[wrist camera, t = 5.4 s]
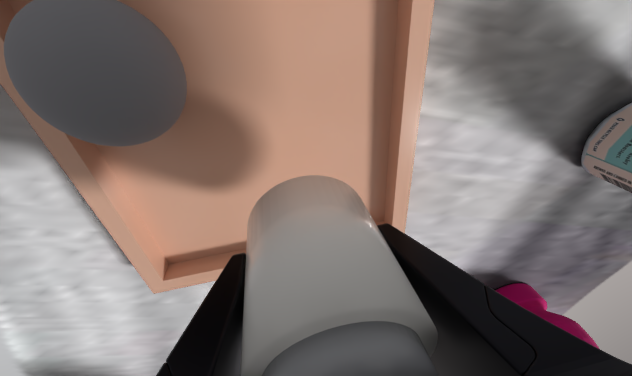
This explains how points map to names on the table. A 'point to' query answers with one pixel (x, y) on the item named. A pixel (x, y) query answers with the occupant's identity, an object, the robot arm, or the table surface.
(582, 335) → the pepper mill
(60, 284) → the table surface
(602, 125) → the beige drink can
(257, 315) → the cylinder
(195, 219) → the tray
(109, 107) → the mixing ball
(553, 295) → the table surface
